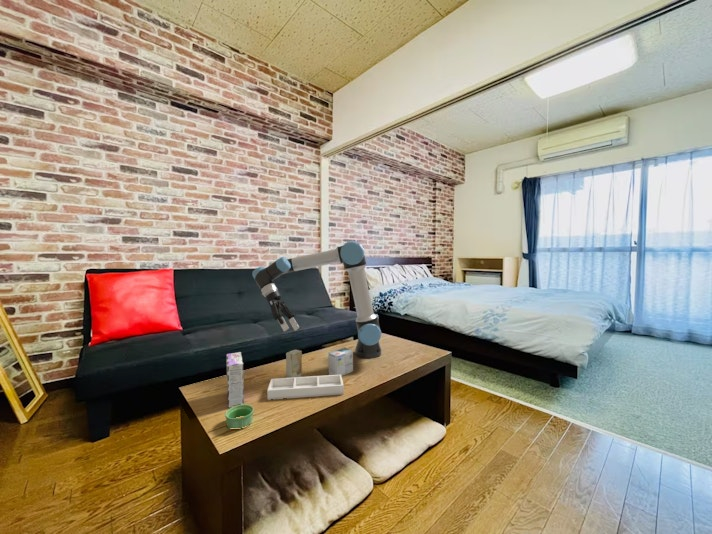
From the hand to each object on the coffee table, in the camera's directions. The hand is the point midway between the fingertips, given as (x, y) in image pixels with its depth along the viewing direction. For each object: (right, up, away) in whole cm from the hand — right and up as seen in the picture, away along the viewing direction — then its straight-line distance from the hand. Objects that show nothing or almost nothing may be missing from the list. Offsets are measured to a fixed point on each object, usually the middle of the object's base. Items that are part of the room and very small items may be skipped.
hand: (292, 329), depth 143 cm
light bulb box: (+24, -21, -3) cm, 32 cm away
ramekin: (-8, -23, -44) cm, 50 cm away
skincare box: (+3, -21, -8) cm, 22 cm away
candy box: (-17, -22, -27) cm, 39 cm away
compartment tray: (+11, -21, -21) cm, 32 cm away
